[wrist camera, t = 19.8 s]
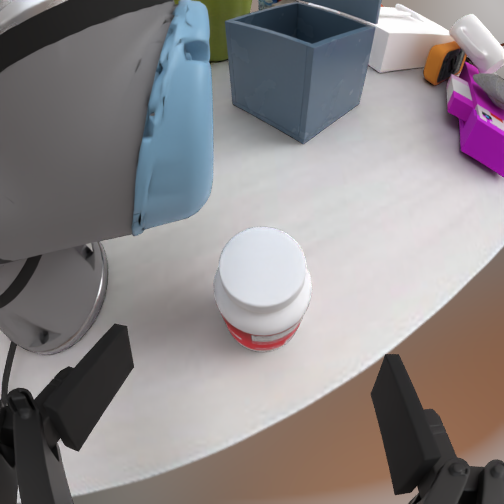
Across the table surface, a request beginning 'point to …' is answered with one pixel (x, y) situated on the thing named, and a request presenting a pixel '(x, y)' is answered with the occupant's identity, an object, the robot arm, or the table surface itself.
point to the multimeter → (443, 62)
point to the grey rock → (492, 87)
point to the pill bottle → (262, 287)
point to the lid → (353, 8)
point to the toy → (477, 119)
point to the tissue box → (403, 39)
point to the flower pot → (222, 23)
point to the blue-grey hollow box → (297, 66)
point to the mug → (478, 44)
